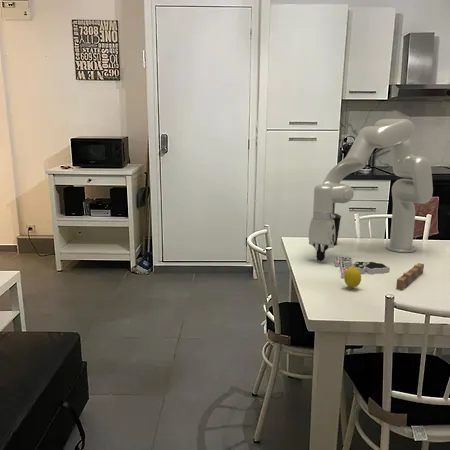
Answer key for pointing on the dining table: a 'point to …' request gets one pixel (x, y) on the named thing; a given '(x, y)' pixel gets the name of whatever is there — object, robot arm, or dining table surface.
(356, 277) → the lemon
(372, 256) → the dining table surface
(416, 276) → the walnut ledge
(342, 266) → the decorative sign
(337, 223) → the drinking cup
